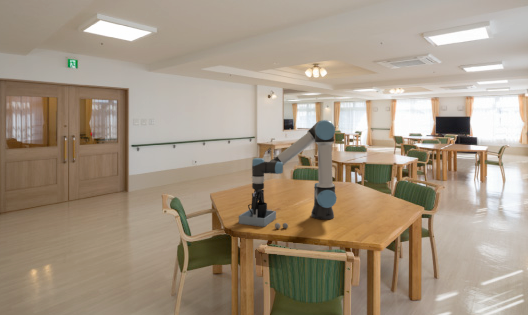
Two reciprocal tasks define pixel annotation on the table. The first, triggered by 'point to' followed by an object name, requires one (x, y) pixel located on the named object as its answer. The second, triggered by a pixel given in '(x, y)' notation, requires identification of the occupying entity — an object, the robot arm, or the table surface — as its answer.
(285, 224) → the pebble
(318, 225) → the table surface
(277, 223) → the pebble
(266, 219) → the bin
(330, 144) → the robot arm
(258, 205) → the mug
